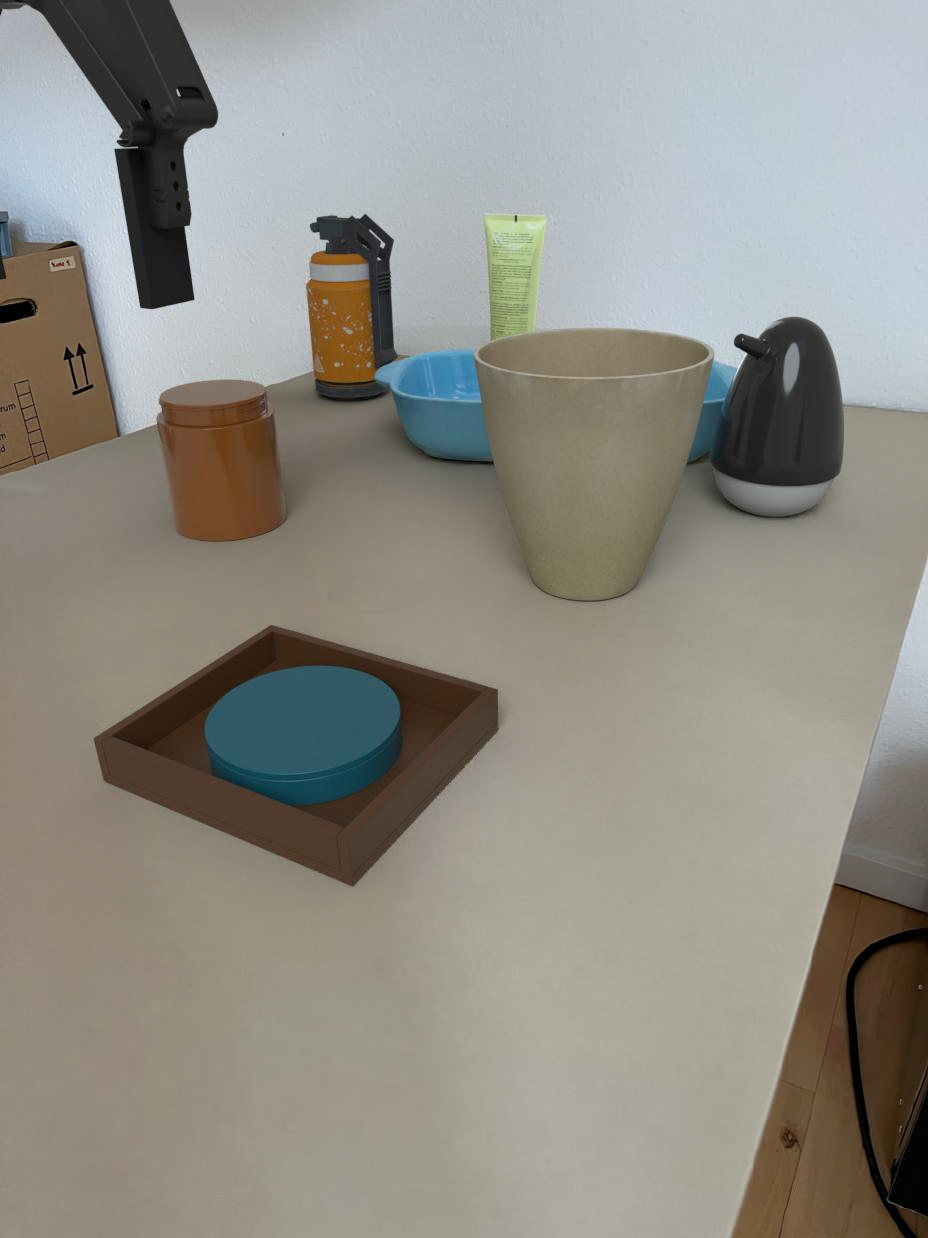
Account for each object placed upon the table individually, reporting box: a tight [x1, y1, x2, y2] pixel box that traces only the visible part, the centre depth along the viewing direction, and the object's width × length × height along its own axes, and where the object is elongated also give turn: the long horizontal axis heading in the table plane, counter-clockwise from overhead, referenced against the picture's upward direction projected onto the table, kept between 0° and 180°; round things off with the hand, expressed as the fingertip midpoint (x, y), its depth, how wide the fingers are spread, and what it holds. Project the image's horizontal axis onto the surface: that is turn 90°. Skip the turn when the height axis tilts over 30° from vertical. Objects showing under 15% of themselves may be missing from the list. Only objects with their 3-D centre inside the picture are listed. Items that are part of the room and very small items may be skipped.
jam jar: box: [155, 379, 287, 542], centre depth 75 cm, size 9×9×11 cm
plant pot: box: [474, 327, 716, 602], centre depth 63 cm, size 15×15×16 cm
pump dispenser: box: [709, 316, 845, 518], centre depth 74 cm, size 10×10×15 cm
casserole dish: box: [374, 348, 738, 464], centre depth 93 cm, size 37×22×7 cm, turn 85°
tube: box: [483, 212, 548, 341], centre depth 110 cm, size 6×5×20 cm
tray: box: [93, 624, 499, 887], centre depth 48 cm, size 15×13×3 cm
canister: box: [305, 213, 399, 401], centre depth 108 cm, size 9×11×20 cm
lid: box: [204, 666, 402, 806], centre depth 48 cm, size 10×10×2 cm
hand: (68, 293), depth 47 cm, fingers open, 13 cm apart
